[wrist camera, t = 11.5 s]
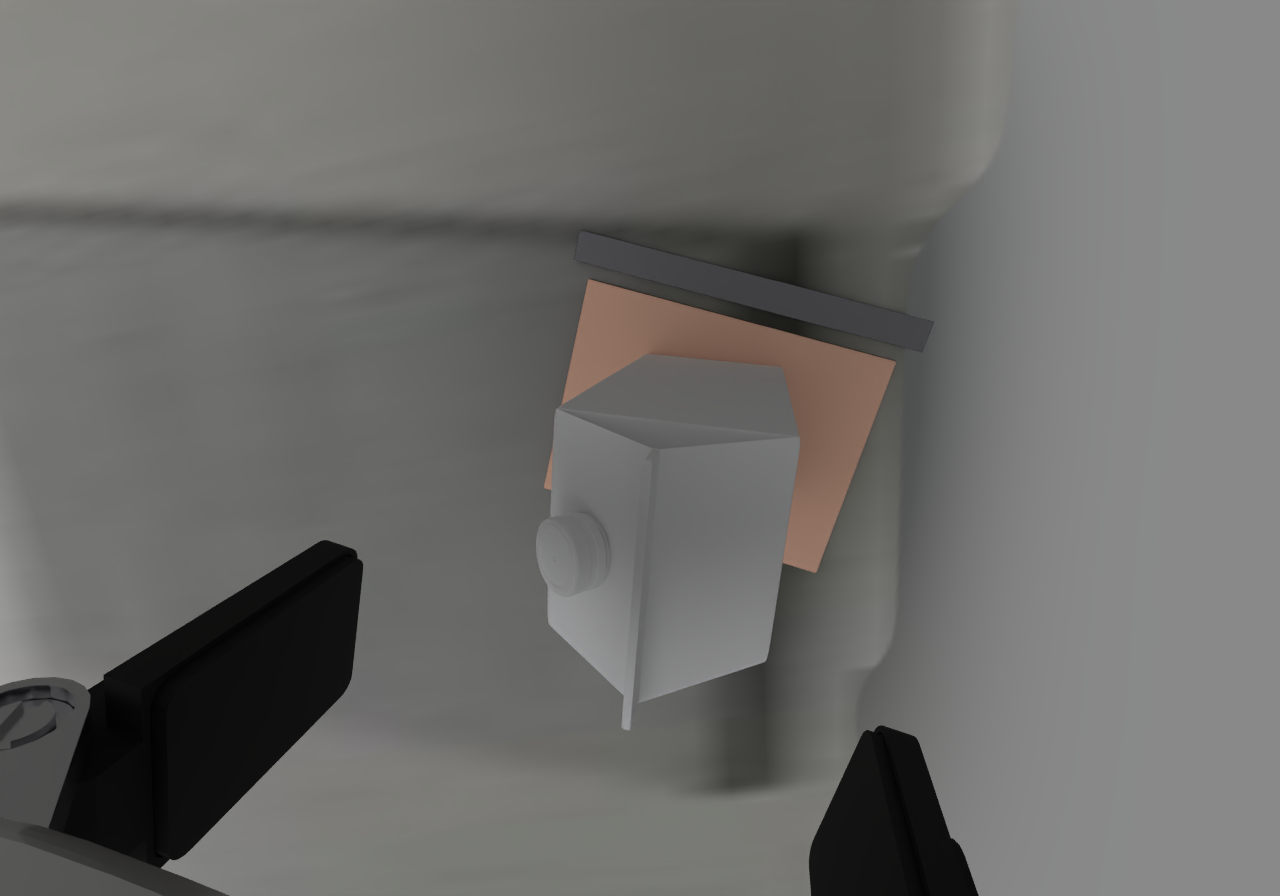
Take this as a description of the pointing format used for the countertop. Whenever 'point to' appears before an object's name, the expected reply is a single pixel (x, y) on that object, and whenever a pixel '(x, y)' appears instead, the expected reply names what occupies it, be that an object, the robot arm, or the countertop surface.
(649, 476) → the milk carton
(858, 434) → the mat
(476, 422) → the countertop surface
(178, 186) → the countertop surface
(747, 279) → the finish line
